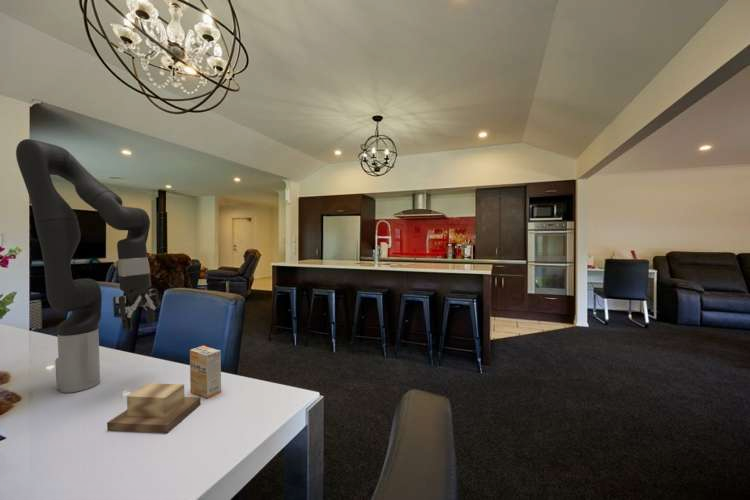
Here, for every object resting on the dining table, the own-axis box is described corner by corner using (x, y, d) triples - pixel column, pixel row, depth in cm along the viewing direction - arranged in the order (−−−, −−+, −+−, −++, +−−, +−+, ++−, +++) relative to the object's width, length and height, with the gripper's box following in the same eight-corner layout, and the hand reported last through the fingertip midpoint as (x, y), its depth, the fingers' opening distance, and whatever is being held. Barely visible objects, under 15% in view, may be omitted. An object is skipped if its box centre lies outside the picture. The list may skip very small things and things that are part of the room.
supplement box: (189, 392, 94) (188, 349, 94) (204, 386, 99) (203, 344, 98) (207, 399, 91) (206, 354, 90) (222, 392, 95) (221, 349, 94)
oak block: (127, 415, 79) (126, 396, 78) (149, 401, 86) (148, 383, 85) (165, 417, 78) (165, 397, 78) (184, 402, 85) (184, 384, 85)
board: (107, 430, 76) (107, 422, 76) (149, 402, 89) (149, 395, 89) (167, 433, 75) (166, 425, 75) (200, 404, 88) (200, 397, 88)
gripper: (141, 271, 103) (146, 320, 103) (101, 277, 88) (107, 334, 89) (163, 270, 102) (168, 319, 103) (126, 275, 88) (132, 332, 89)
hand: (140, 326), depth 96 cm, fingers open, 8 cm apart
